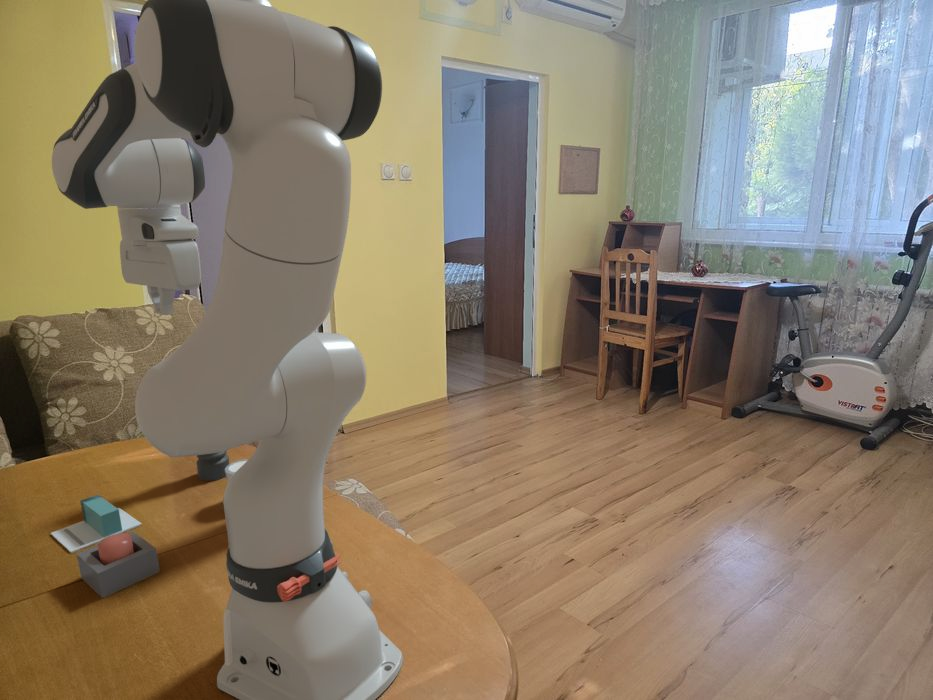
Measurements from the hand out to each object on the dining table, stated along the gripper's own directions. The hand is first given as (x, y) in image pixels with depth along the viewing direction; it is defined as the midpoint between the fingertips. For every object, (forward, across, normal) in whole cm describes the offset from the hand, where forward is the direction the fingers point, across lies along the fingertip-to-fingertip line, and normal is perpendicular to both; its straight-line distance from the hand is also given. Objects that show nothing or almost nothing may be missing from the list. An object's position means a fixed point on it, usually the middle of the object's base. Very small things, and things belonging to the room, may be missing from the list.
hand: (164, 314), depth 97 cm
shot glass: (+37, +1, +10) cm, 39 cm away
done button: (+36, +7, -15) cm, 40 cm away
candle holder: (+37, -15, +12) cm, 42 cm away
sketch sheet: (+37, -10, -12) cm, 40 cm away
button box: (+37, +7, -15) cm, 41 cm away
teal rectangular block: (+37, -10, -11) cm, 40 cm away
